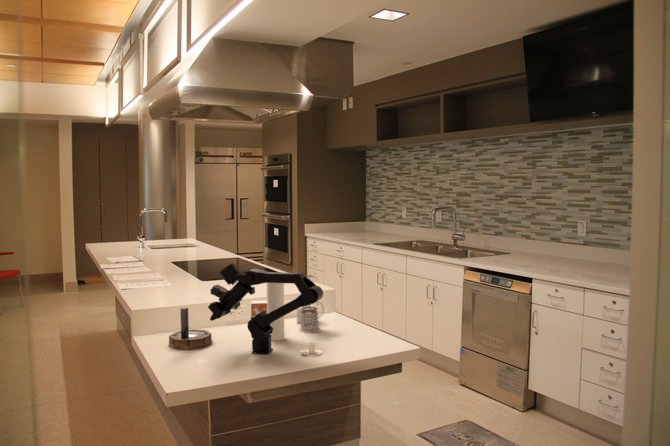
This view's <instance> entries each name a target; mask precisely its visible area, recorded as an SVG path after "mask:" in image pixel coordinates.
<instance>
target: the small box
mask: <svg viewBox="0 0 670 446" xmlns="http://www.w3.org/2000/svg"><path fill="white" fill-rule="evenodd" d="M250 303H251V304H250V305H251V306H250V307H251V308H250V316H251V317H253V316H255V315H257V314H259V313H261V312H263V311H264V310H265V311H266V313H267V299H266V300H264V299H263V300H260V299H259V300H251V301H250ZM251 317H250V318H251Z"/></svg>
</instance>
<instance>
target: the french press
mask: <svg viewBox="0 0 670 446" xmlns="http://www.w3.org/2000/svg"><path fill="white" fill-rule="evenodd" d="M306 277H307V278H308V279H310V280H311V278H312V275H311V274H307V275H306ZM315 304H316V305H318V304H320V306H321V313H320V314H319V312H318V307H316V306H313V307H310V305H309V307H303V308H302V310H304V311H301V323H300V328H299V329H298V331H299V332H301V333H305V334H306V333H309V334H311V333H318V332H320V331H321V329H320V327H319V322H320V321H319V319H320V318H322V317H323V315H324V312H325V306H324V304H323V303H322V302H320V301H319V300H318V301H317V302H315ZM307 312H310V313H313V314H305V313H307ZM308 318H312V319H308ZM305 319H307V320H305ZM308 321H311V322H308ZM305 322H306V323H305Z"/></svg>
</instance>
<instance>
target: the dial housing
mask: <svg viewBox="0 0 670 446" xmlns="http://www.w3.org/2000/svg"><path fill="white" fill-rule="evenodd" d="M189 331H201V332H205V333H206V335H205V336H204V337H201V338H195V339H176V338H175V337H174V336H175V335H176V334H178V333H181V330H179V331H175V332H173V333H171V334H169V335H168V346H169V347H170V348H171V349H175V350H196V349H200V348H205V347H207V346H209V345H211V344H212V343H213V338H212V332H210V331H208V330H206V329H194V328H193V329H189Z"/></svg>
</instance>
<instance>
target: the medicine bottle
mask: <svg viewBox="0 0 670 446" xmlns="http://www.w3.org/2000/svg"><path fill="white" fill-rule="evenodd" d="M313 305H314V304H310V307H314V306H313ZM303 307H309V305H307V306H303ZM303 307H299V308H298V309H296V324H301V311H304V310H302V308H303ZM305 314H313V313H310V312H307V313H305ZM308 319H312V318H308ZM305 320H307V319H305ZM308 322H311V321H308ZM305 323H306V322H305Z"/></svg>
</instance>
